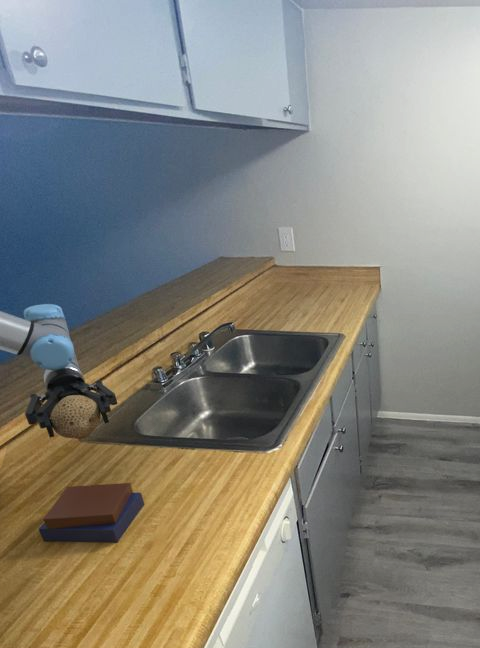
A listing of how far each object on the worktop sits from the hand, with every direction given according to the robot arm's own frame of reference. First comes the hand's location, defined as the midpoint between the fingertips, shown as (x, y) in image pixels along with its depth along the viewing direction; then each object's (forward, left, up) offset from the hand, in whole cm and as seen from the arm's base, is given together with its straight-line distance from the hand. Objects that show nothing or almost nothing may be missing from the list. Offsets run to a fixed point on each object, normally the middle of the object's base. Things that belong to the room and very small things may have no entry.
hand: (78, 424), depth 95 cm
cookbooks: (+4, -9, -18) cm, 20 cm away
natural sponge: (-3, +4, -6) cm, 8 cm away
